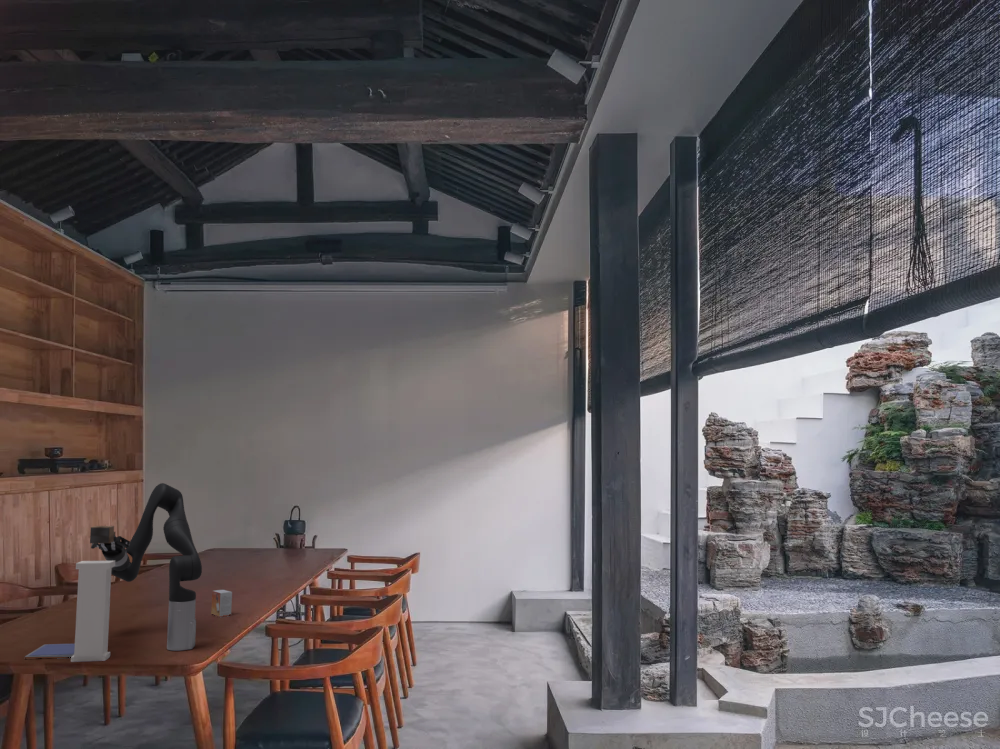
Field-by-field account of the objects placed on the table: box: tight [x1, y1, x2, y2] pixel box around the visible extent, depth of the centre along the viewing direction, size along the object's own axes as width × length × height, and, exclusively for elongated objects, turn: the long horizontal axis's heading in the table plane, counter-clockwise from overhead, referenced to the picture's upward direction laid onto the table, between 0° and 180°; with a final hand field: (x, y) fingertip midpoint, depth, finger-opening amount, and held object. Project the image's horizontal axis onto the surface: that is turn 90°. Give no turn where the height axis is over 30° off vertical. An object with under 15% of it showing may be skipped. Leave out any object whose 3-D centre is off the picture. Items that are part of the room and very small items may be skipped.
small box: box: [210, 589, 233, 617], centre depth 363 cm, size 8×6×10 cm
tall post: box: [70, 560, 115, 663], centre depth 288 cm, size 11×6×33 cm, turn 100°
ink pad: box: [24, 643, 75, 659], centre depth 295 cm, size 16×18×1 cm
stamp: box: [89, 525, 116, 544], centre depth 300 cm, size 6×15×6 cm, turn 10°
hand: (104, 534), depth 299 cm, fingers closed on stamp, 2 cm apart
